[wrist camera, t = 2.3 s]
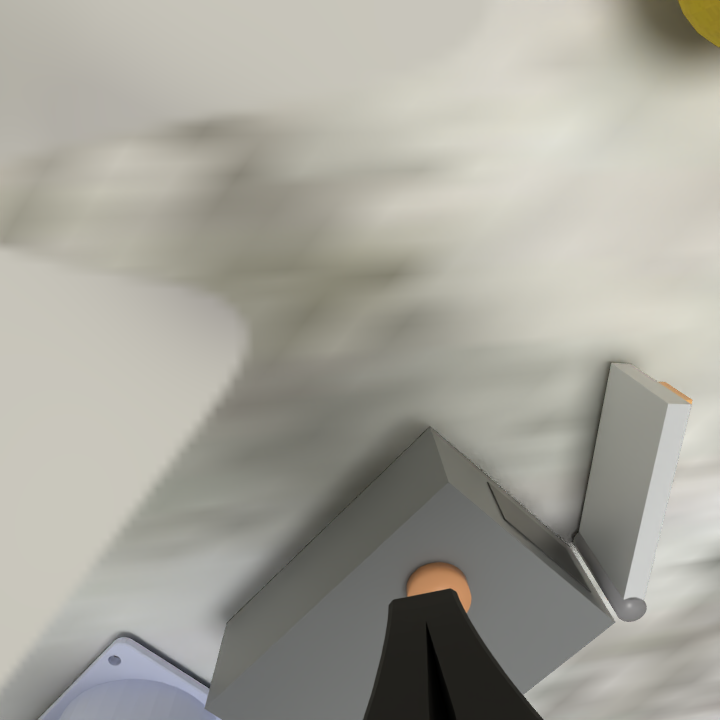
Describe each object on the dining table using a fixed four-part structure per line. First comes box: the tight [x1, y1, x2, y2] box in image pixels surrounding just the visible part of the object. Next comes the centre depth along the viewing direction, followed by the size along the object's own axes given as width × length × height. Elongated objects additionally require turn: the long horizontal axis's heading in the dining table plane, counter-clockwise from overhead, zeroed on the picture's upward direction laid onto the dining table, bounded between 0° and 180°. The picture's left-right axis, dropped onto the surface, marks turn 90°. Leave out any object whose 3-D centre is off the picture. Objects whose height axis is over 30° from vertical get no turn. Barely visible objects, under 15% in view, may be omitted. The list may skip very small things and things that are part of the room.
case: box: [204, 427, 615, 720], centre depth 21 cm, size 12×9×5 cm
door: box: [573, 363, 692, 622], centre depth 20 cm, size 2×8×4 cm, turn 177°
